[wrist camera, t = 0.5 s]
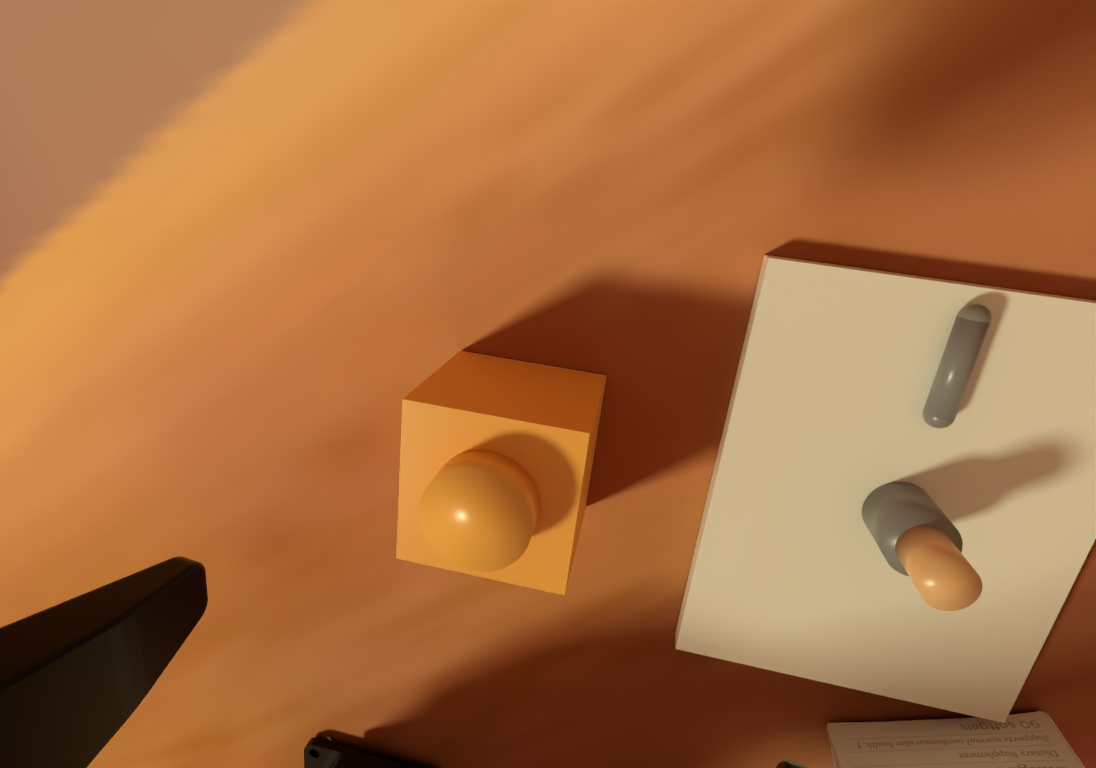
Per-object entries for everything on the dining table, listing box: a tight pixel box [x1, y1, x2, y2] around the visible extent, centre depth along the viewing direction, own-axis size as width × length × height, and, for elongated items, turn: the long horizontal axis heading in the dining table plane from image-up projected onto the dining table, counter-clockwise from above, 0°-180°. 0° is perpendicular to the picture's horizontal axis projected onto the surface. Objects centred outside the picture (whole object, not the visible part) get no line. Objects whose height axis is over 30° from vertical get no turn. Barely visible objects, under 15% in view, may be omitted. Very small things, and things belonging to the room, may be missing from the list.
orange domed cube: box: [396, 351, 607, 595], centre depth 18 cm, size 5×5×6 cm
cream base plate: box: [675, 255, 1096, 723], centre depth 17 cm, size 14×11×5 cm
